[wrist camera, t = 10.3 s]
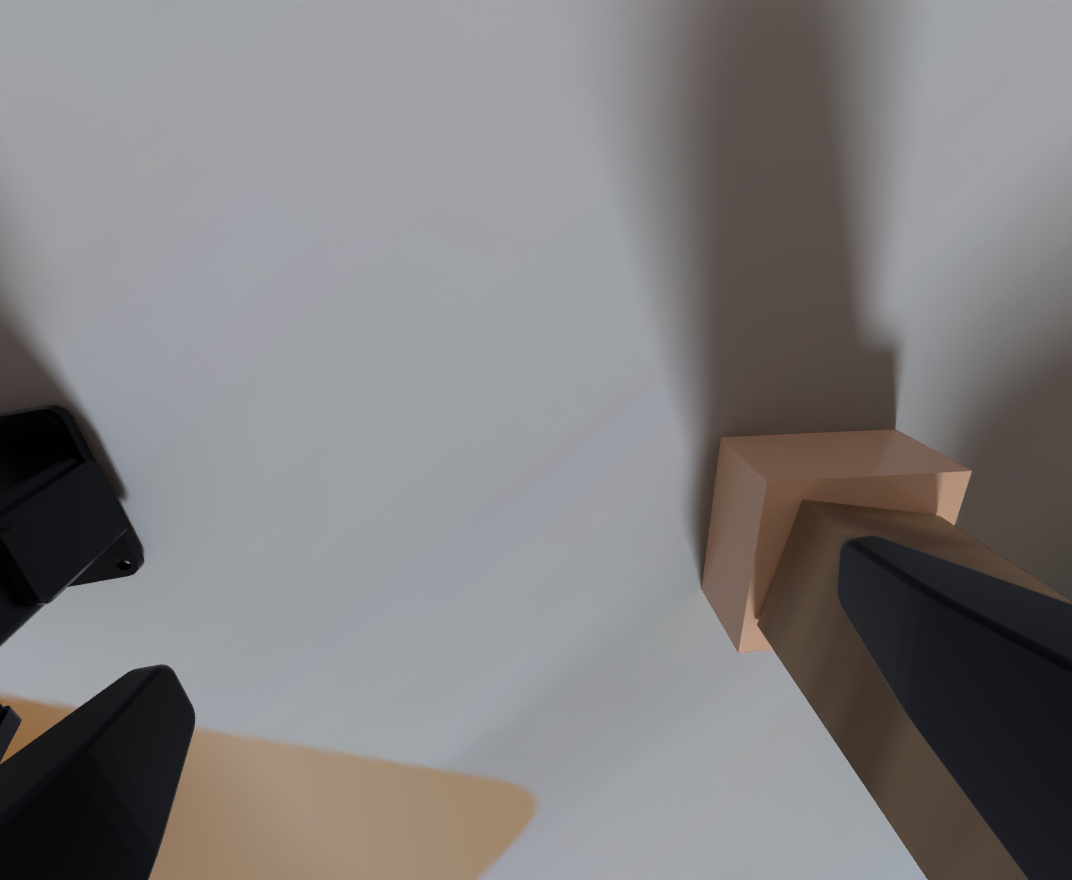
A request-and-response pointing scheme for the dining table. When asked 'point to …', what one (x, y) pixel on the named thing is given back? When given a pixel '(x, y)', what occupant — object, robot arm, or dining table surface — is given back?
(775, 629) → the walnut block
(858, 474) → the terracotta block
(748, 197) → the dining table surface
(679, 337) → the dining table surface
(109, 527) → the robot arm
